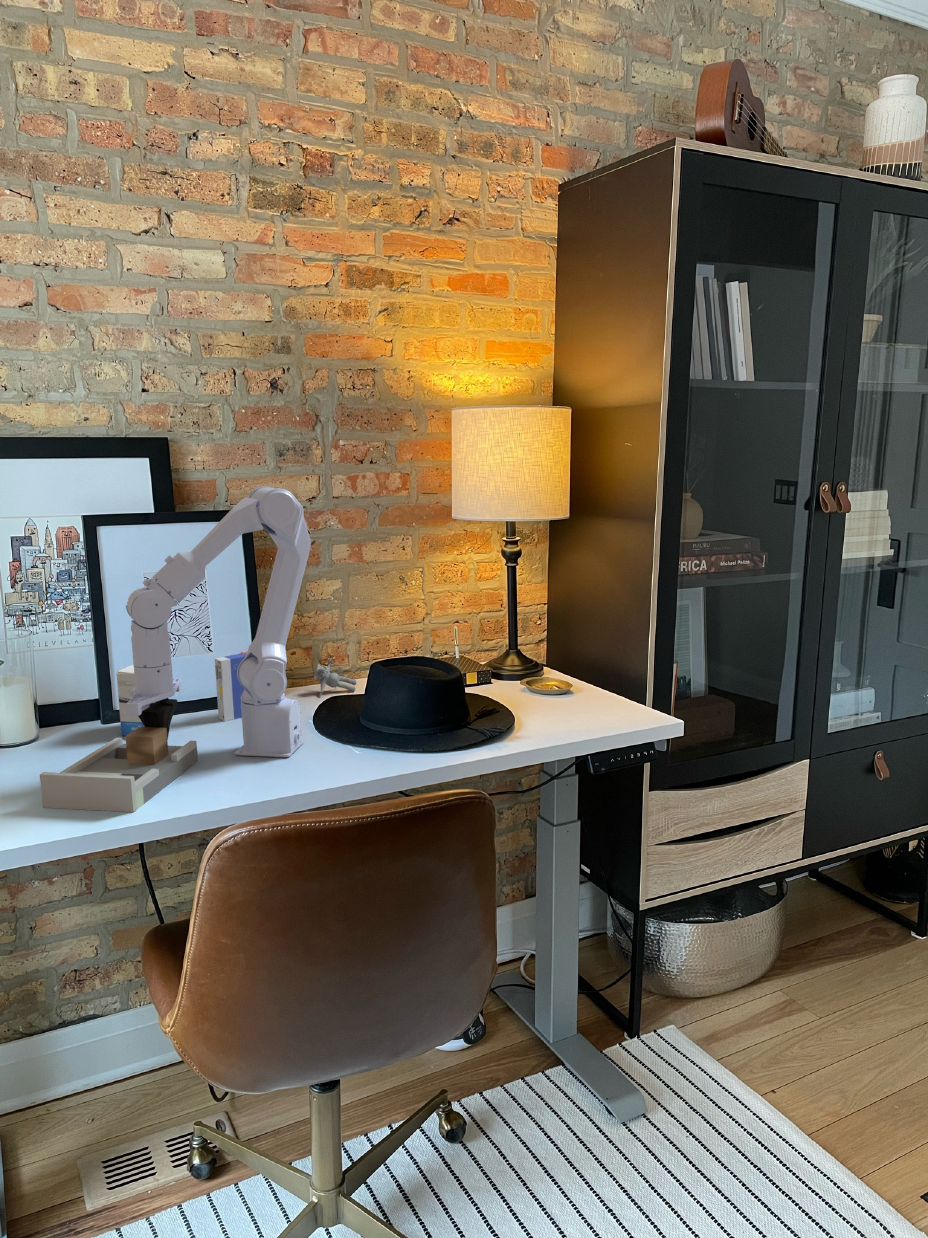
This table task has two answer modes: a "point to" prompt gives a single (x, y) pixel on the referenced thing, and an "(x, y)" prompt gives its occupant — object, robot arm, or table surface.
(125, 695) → the ink box
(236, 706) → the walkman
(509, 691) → the table surface
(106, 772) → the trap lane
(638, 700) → the table surface
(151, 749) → the walnut block
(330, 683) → the grey toy figure
